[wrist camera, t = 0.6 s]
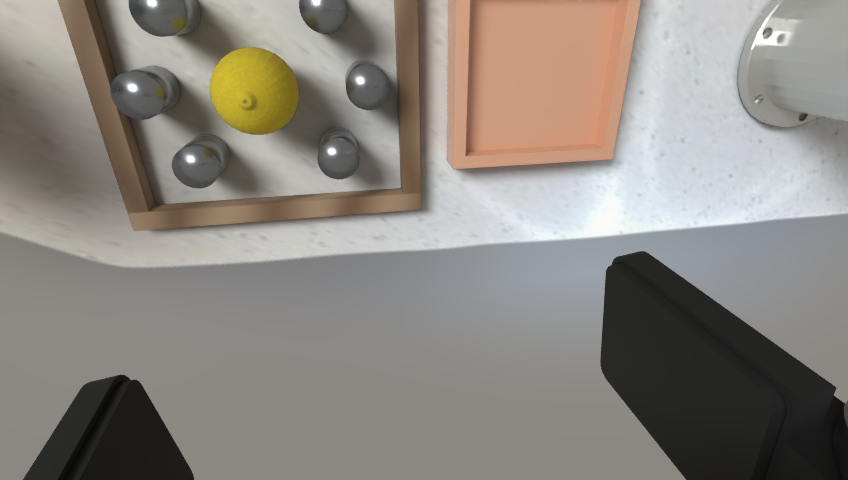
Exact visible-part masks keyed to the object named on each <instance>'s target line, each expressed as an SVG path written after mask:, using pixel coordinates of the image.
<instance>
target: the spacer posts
mask: <svg viewBox="0 0 848 480" xmlns="http://www.w3.org/2000/svg"><path fill="white" fill-rule="evenodd" d="M129 8H130V12H131V15H132V17H133V18H134V20H135V22H136V23H137V24H138V25H139V26H140V27H141V28H142V29H143V30H145V31H146V32H148V33H150V34H152V35H155V36H161V37H164V36H173V35H181V34H188V33H190V32H192V31H194V30H195V29H196V28H197V26H198V25H199V23H200V19H201V12H200V7H199V5H198V2H197V1H196V0H129ZM299 8H300V13H301V16H302V18H303V20H304V21H305V23H306V24H307V25H308V26H309V27H310V28H311V29H313V30H314V31H316V32H319V33H325V34H327V33H332V32H335V31H336V30H338V29H339V28H340V27H341V26H342V25H343V23H344V22H345V19H346V16H347V3H346V0H300V1H299ZM345 81H346V91H347V95H348V97H349V99H350V100H351V102H352V103H353V104H354V105H355V106H357V107H358V108H361V109H364V110H373V109H376V108H378V107H380V106H381V105H382V104H383V103H384V102H385V101H386V99H387V97H388V94H389V82H388V79H387V77H386V75H385V74H384V73H383V71H382V70H381V69H380V67H379V66H378V65H377V64H375V63H374V62H372V61H369V60H360V61H357V62H355V63H353V64H352V65H351V66H350V67H349V69H348V71H347V73H346V78H345ZM110 93H111V97H112V100H113V102H114V104H115V105H116V107H117V108H118V109H119V110H120V111H121V112H122V113H124V114H125V115H127V116H129V117H131V118H134V119H139V120H144V119H149V118H152V117H154V116H156V115H157V114H159V113H161V112H163V111H165V110H167V109H168V108H170V107H172V106H174V105H175V104H176V103H177V102H178V100H179V98H180V94H181V89H180V85H179V82H178V81H177V79H176V77H175V76H174V75H173V74H172V73H171V72H170V71H168V70H167V69H165V68H162V67H159V66H147V67H143V68H140V69H136V70H132V71H128V72H124V73H121V74H119V75H118V76H117V77H115V79H114V80H113V81H112V84H111V88H110ZM229 159H230V151H229V148H228V146H227V145H226V143H225V142H224V141H223V140H222V139H220V138H219V137H217V136H215V135H212V134H201V135H198V136H196V137H195V138H194V139H193V140H191V141H190V142H189V143H188V144H187V145H185V146H184V147H183V148H182V149H181V150H180V151H178V152H177V153H176V154H175V156H174V158H173V161H172V168H173V172H174V174H175V176H176V177H177V178H178V179H179V180H180V181H181V182H182V183H183V184H185V185H187V186H189V187H193V188H204V187H207V186H209V185H211V184H212V183H213V182H214V181H215V180H216V179H217V177H218V176H219V175H220V173H221V172H222V171H223V169H224V168H225V167H226V165H227V164H228V162H229ZM318 164H319V167H320V169H321V170H322V172H323V173H324V174H325V175H327V176H328V177H330V178H333V179H345V178H347V177H349V176H351V175H352V174H353V173H354V172H355V171H356V169H357V167H358V164H359V156H358V148H357V142H356V139H355V137H354V136H353V134H352V133H351V132H349V131H348V130H346V129H343V128H332V129H329V130H328V131H326V132H325V133H324V134H323V136H322V137H321V140H320V145H319V152H318Z"/></svg>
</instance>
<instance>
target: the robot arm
mask: <svg viewBox="0 0 848 480" xmlns="http://www.w3.org/2000/svg"><path fill="white" fill-rule="evenodd" d="M738 87H739V93H740V97H741V100H742V102H743V104H744V107H745V108H746V109H747V111H748V112H749V113H750V114H751V115H752V116H753V117H754V118H756V119H757V120H759V121H761V122H764V123H767V124H770V125H775V126H779V127H792V126H797V125H802V124H805V123H807V122H809V121H812V120H814V119H816V118H818V117H825V118H830V119H834V120H839V121H844V122H848V0H773V1H772V2H771V3H770V5H769V6H768V7H767V8H766V9H765V10H764V11H763V13H762V14H761V16H760V17H759V19H758V20H757V22H756V23H755V25H754V26H753V28H752V30H751V32H750V34H749V36H748V38H747V40H746V43H745V46H744V49H743V52H742V55H741V59H740V64H739V70H738ZM605 281H606V282H605V296H604V313H603V329H602V347H601V369H602V372H603V374H604V376H605V378H606V379H607V381H608V382H609V383H610V385H611V386H612V387H613V388H614V390H615V391H616V392H617V393H618V394H619V396H620V397H621V398H622V400H623V401H624V402H625V403H626V405H627V406H628V407H629V408H630V410H631V411H632V412H633V413H634V415H635V416H636V417H637V418H638V420H639V421H640V422H641V423H642V425H643V426H644V427H645V428H646V430H647V431H648V432H649V433H650V435H651V436H652V437H653V438H654V440H655V441H656V442H657V443H658V445H659V446H660V447H661V448H662V450H663V451H664V452H665V453H666V455H667V456H668V457H669V458H670V460H671V461H672V462H673V463H674V465H675V466H676V467H677V469H678V470H679V471H680V472H681V473H682V475H683V476H684V477H685V479H686V480H848V401H847V402H846V404H845V403H843V402H842V401H840V400H839V399H838V398H836V397H835V396H834V393H835V390H836V387H835V386H833V385H832V384H831V383H829V382H828V381H826V380H825V379H824V378H822V377H821V376H819V375H818V374H817V373H815V372H814V371H812V370H811V369H810V368H808V367H807V366H805V365H804V364H803V363H801V362H800V361H798V360H797V359H796V358H794V357H792V356H791V355H790V354H788V353H787V352H786V351H784V350H783V349H781V348H780V347H779V346H777V345H776V344H774V343H773V342H772V341H770V340H769V339H768V338H766V337H765V336H763V335H762V334H761V333H759V332H758V331H756V330H755V329H754V328H752V327H751V326H749V325H748V324H747V323H745V322H744V321H742V320H741V319H740V318H738V317H737V316H735V315H734V314H733V313H731V312H730V311H728V310H727V309H725V308H724V307H723V306H721V305H720V304H719V303H717V302H716V301H714V300H713V299H712V298H710V297H709V296H707V295H706V294H704V293H703V292H702V291H700V290H699V289H698V288H696V287H695V286H693V285H692V284H691V283H689V282H687V281H686V280H685V279H684V278H682V277H681V276H679V275H678V274H676V273H675V272H674V271H672V270H671V269H669V268H668V267H667V266H665V265H664V264H662V263H661V262H660V261H658V260H657V259H655V258H654V257H653V256H651V255H649V254H648V253H646V252H644V251H641V252H636V253H632V254H627V255H623V256H619V257H616V258H615V259H614V260H613V262H612V265H611V266H609V267H608V268H607V270H606V280H605ZM23 480H194V477H193V473H192V471H191V469H190V467H189V466H188V464H187V462H186V460H185V459H184V457H183V455H182V453H181V452H180V450H179V448H178V447H177V445H176V443H175V442H174V440H173V438H172V436H171V435H170V433H169V431H168V429H167V428H166V426H165V424H164V422H163V421H162V419H161V417H160V416H159V414H158V412H157V410H156V409H155V407H154V405H153V404H152V402H151V400H150V398H149V397H148V395H147V393H146V391H145V390H144V388H143V386H142V385H141V383H140V382H139V381H137V380H130V379H129V378H128V377H126V376H125V375H118V376H114V377H109V378H105V379H101V380H97V381H92V382H89V383H87V384H85V385H84V386H83V387H82V388H81V389H80V391H79V393H78V394H77V396H76V397H75V399H74V401H73V402H72V404H71V405H70V407H69V408H68V410H67V412H66V413H65V415H64V416H63V418H62V419H61V421H60V422H59V424H58V426H57V427H56V429H55V430H54V432H53V433H52V435H51V437H50V438H49V440H48V441H47V443H46V444H45V446H44V448H43V449H42V451H41V452H40V454H39V455H38V457H37V458H36V460H35V462H34V463H33V465H32V466H31V468H30V470H29V471H28V473H27V474H26V476H25V477H24V479H23Z"/></svg>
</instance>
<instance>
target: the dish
mask: <svg viewBox="0 0 848 480" xmlns="http://www.w3.org/2000/svg"><path fill="white" fill-rule="evenodd" d="M640 3H641V0H448V89H447V162H448V163H449V164H450V166H451V167H452V168H453V169H464V168H480V167H496V166H512V165H528V164H544V163H560V162H575V161H591V160H607V159H613V154H614V148H615V143H616V137H617V131H618V126H619V120H620V115H621V109H622V104H623V98H624V92H625V87H626V81H627V76H628V70H629V64H630V59H631V53H632V48H633V42H634V36H635V31H636V25H637V20H638V14H639V8H640Z"/></svg>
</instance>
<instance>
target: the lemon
mask: <svg viewBox="0 0 848 480" xmlns="http://www.w3.org/2000/svg"><path fill="white" fill-rule="evenodd" d="M210 93H211V98H212V102H213V104H214V106H215V109H216V111H217V112H218V114H219V115H220V116H221V117H222V119H223V120H224V121H225V122H227V123H228V124H229V125H230V126H231V127H233V128H235V129H237V130H239V131H241V132H244V133H248V134H254V135H263V134H268V133H272V132H275V131H277V130H279V129H280V128H282V127H284V126H285V125H286V124H287V123H288V122H289V121H290V120H291V118H292V117H293V115H294V113H295V112H296V109H297V105H298V102H299V88H298V84H297V80H296V77H295V76H294V74H293V72H292V70H291V68H290V67H289V66H288V65H287V64H286V62H285V61H284V60H282V59H281V58H280V57H279V56H277V55H276V54H274V53H272V52H270V51H268V50H265V49H261V48H255V47H248V48H240V49H237V50H235V51H232V52H230V53H229V54H227V55H226V56H225V57H223V58H222V59H221V60H220V62H219V63H218V64H217V66H216V67H215V68H214V71H213V74H212V77H211V82H210Z"/></svg>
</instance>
